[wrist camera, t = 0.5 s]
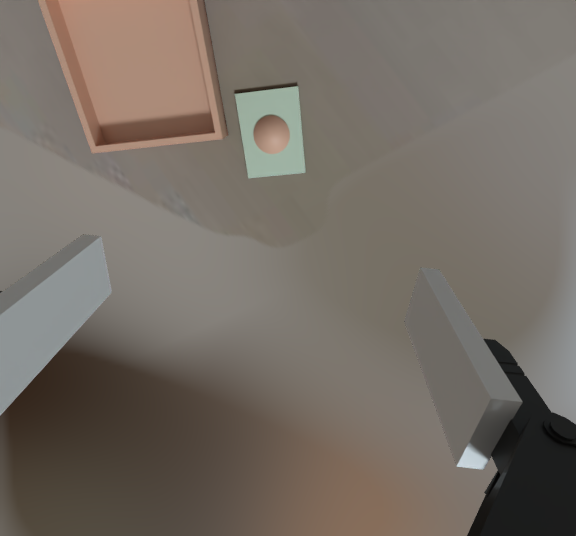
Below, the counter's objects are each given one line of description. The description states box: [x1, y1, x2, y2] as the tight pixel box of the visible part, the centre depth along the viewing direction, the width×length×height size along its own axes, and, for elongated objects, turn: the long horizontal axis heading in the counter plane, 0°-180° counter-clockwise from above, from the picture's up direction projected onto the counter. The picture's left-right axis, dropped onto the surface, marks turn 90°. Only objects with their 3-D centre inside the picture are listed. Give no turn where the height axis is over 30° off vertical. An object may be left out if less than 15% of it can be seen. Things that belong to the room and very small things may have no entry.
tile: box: [235, 86, 306, 178], centre depth 36 cm, size 8×6×1 cm
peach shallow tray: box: [38, 0, 228, 153], centre depth 33 cm, size 13×13×2 cm
